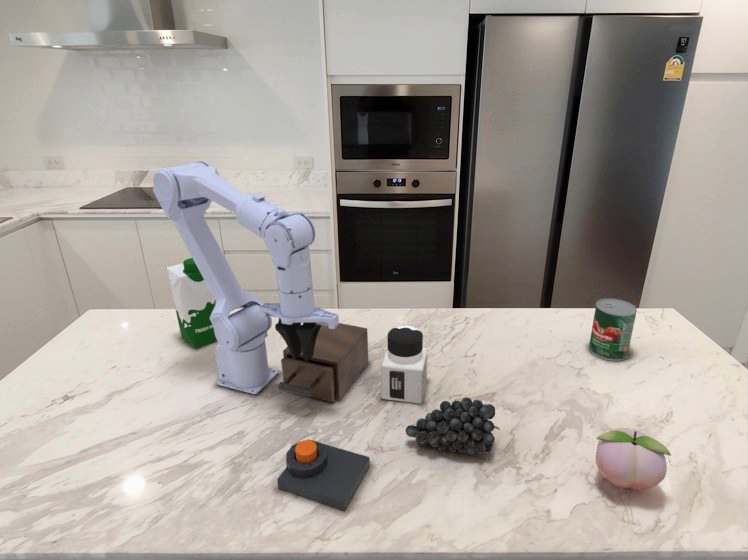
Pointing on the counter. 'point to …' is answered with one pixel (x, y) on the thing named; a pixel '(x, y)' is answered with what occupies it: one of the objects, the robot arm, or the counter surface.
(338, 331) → the cabinet
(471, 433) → the fruit
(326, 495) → the button block
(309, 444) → the button
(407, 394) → the container
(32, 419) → the counter surface
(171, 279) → the milk carton
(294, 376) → the drawer
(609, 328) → the canned tomato
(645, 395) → the counter surface
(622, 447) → the decorative fruit
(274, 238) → the robot arm
